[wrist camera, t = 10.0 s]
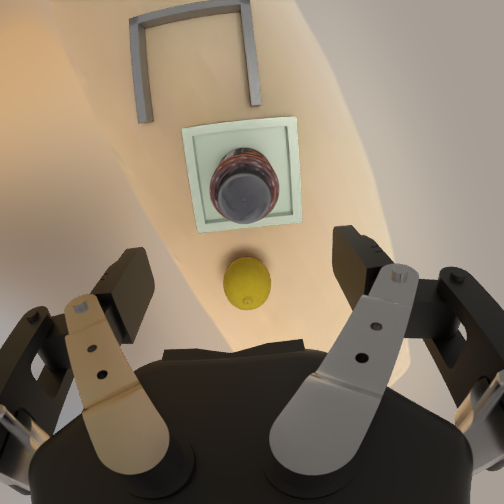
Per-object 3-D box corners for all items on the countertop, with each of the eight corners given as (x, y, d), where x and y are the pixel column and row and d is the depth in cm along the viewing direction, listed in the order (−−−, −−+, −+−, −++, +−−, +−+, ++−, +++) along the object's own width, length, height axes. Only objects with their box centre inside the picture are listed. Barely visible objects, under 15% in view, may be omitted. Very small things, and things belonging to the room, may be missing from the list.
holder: (136, 24, 23) (129, 18, 21) (248, 4, 23) (249, -4, 21) (145, 123, 29) (138, 123, 27) (260, 105, 29) (261, 104, 27)
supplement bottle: (282, 166, 31) (301, 191, 21) (250, 208, 33) (254, 251, 23) (237, 135, 30) (234, 144, 19) (206, 179, 32) (190, 210, 21)
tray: (185, 128, 30) (181, 128, 28) (292, 116, 29) (296, 116, 28) (200, 226, 35) (197, 233, 33) (299, 216, 35) (302, 222, 33)
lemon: (248, 238, 36) (250, 270, 29) (276, 267, 38) (284, 303, 31) (215, 264, 37) (210, 301, 30) (244, 291, 39) (245, 330, 32)
